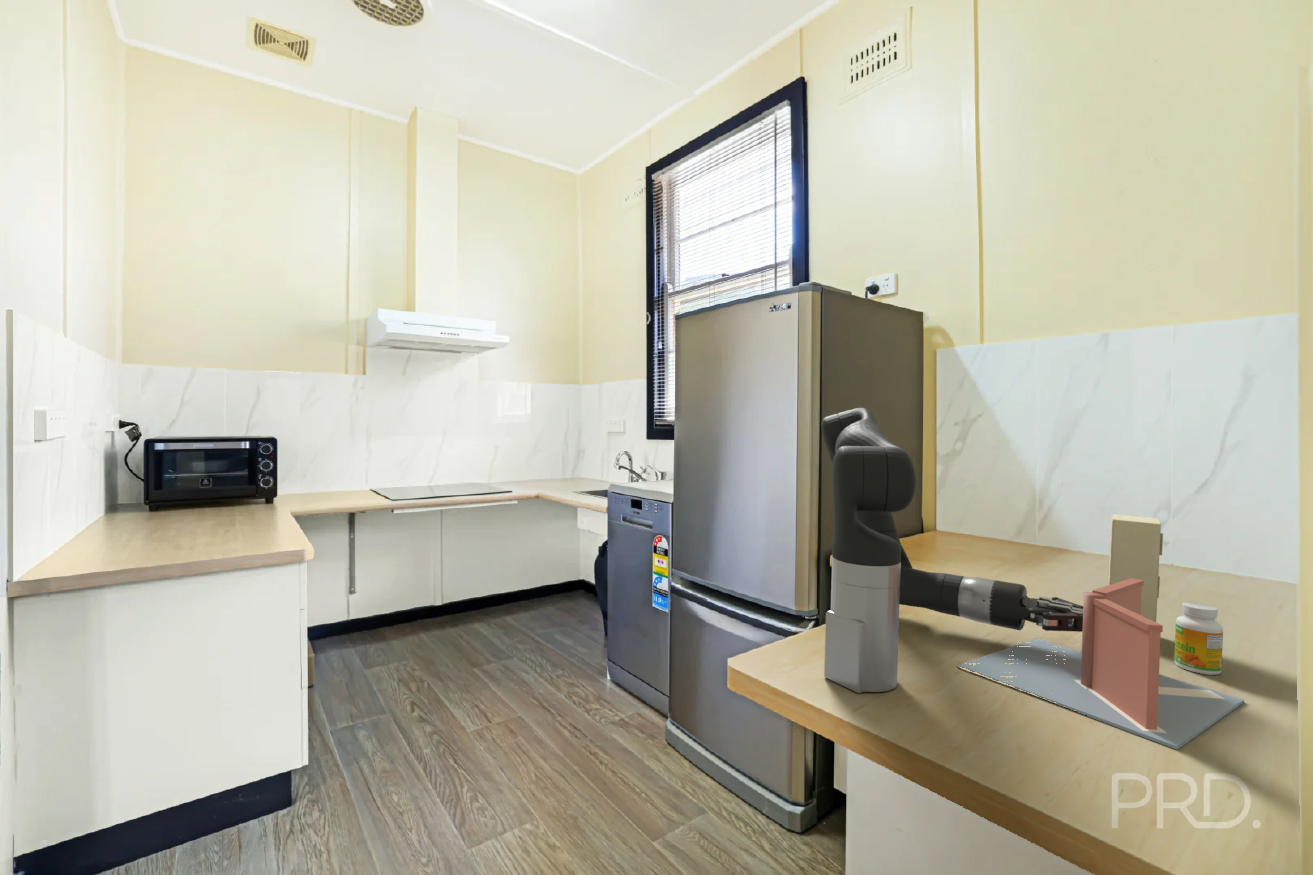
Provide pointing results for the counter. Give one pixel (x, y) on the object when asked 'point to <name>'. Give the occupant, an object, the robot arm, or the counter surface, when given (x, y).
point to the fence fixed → (1121, 658)
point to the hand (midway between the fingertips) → (1120, 625)
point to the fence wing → (1124, 594)
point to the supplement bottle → (1199, 639)
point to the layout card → (1178, 701)
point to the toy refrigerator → (1137, 556)
